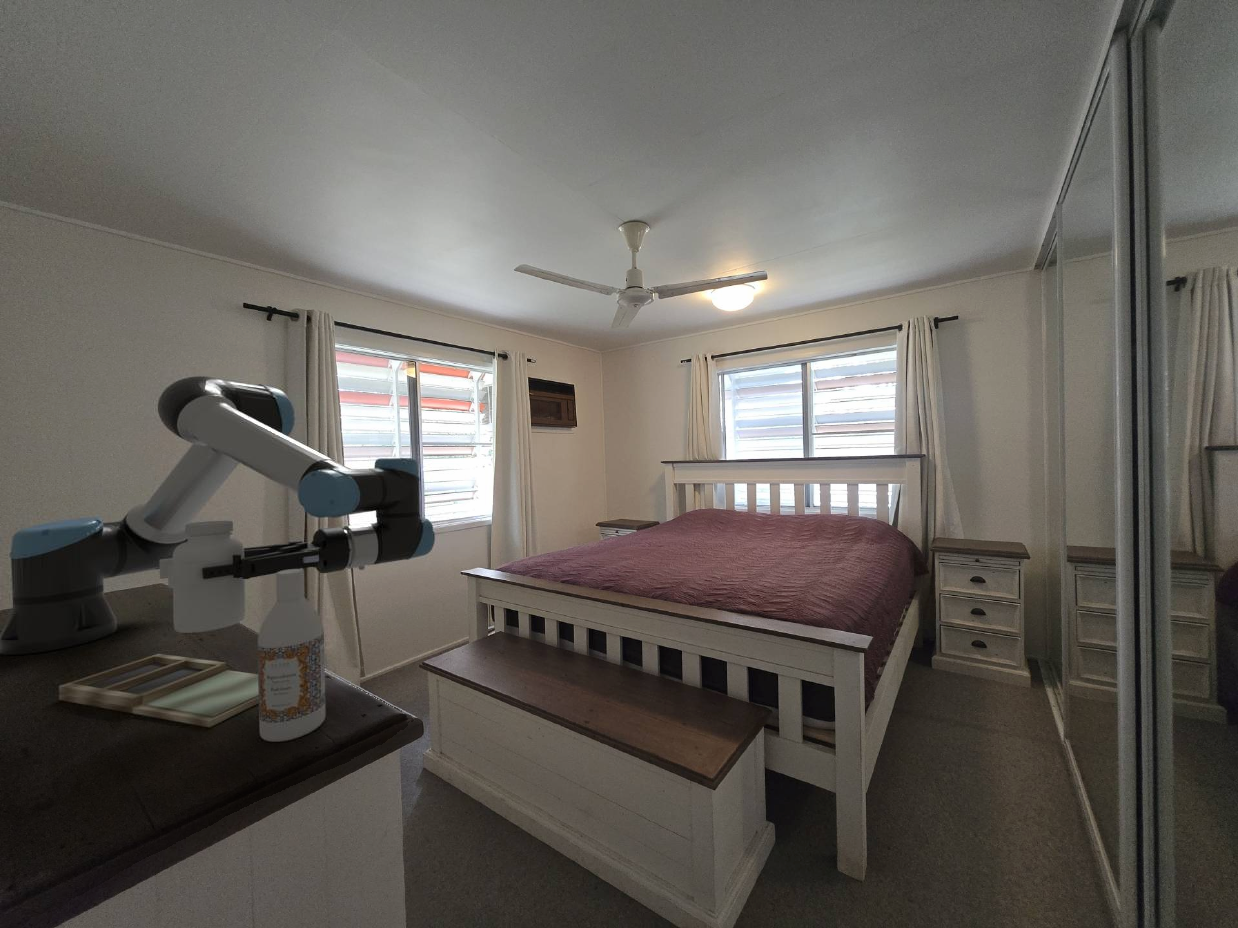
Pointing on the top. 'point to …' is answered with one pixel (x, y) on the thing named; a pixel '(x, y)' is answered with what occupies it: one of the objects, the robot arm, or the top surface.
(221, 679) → the tray
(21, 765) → the top surface
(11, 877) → the top surface
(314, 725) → the bath foam
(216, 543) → the pill bottle
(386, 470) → the robot arm
